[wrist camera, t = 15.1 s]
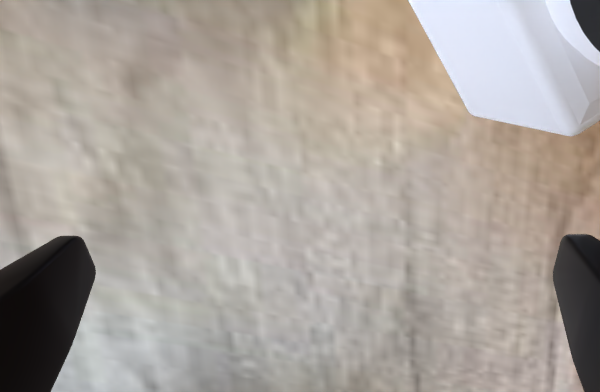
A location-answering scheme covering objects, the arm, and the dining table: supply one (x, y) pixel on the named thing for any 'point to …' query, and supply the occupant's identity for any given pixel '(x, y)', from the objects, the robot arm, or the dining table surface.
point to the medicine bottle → (520, 58)
